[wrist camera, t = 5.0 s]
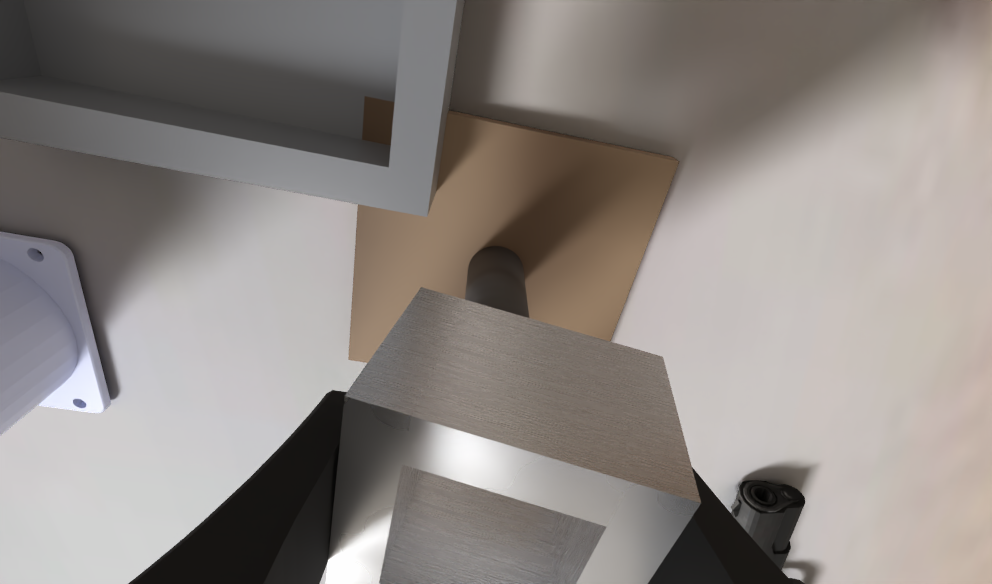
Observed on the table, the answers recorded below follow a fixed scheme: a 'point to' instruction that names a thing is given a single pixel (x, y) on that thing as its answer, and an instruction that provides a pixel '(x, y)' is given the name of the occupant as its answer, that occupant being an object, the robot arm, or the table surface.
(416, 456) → the collar
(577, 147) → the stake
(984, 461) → the table surface
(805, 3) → the table surface
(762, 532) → the handgun
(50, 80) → the tray
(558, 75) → the table surface
